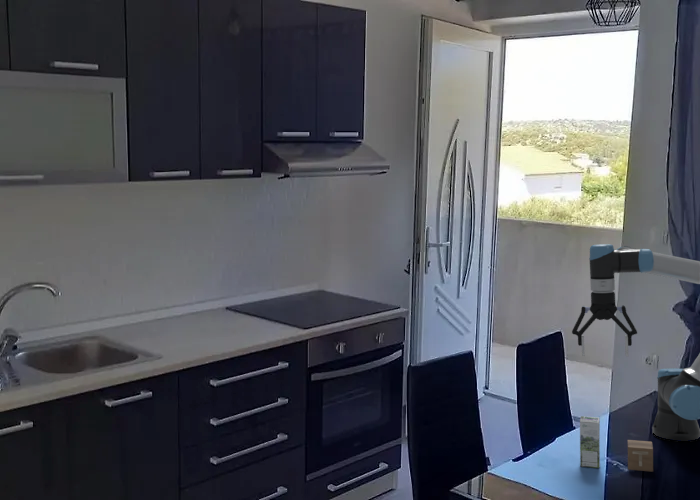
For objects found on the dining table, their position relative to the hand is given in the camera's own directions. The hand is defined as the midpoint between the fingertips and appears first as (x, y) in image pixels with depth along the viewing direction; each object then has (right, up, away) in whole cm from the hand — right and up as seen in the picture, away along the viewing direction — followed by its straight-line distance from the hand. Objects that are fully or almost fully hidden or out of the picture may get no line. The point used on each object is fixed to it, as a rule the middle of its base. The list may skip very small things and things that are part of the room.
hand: (604, 355), depth 242 cm
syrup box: (-10, -32, -15) cm, 37 cm away
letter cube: (+5, -31, -18) cm, 36 cm away
